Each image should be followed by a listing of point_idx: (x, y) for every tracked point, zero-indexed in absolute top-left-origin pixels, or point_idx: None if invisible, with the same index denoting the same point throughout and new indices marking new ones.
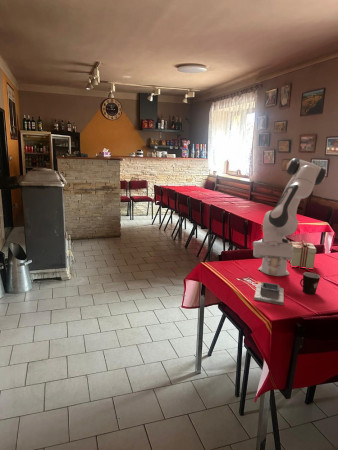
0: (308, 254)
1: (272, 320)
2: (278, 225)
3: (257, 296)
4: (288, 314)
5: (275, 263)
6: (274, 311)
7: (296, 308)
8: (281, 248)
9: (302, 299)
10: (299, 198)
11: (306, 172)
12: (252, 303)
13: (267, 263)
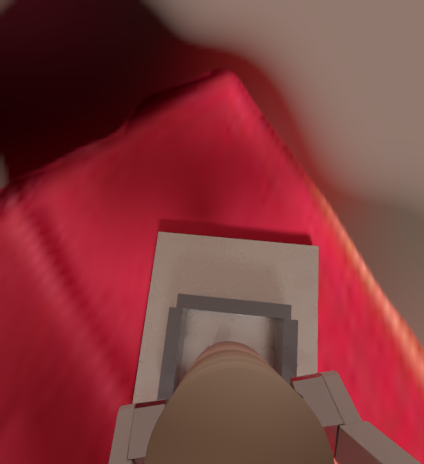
0: None
1: (227, 70)
2: None
3: (301, 262)
4: (152, 143)
5: (214, 358)
6: (212, 151)
7: (98, 222)
8: None
9: (28, 367)
10: None
11: None
12: (317, 201)
13: (338, 376)
